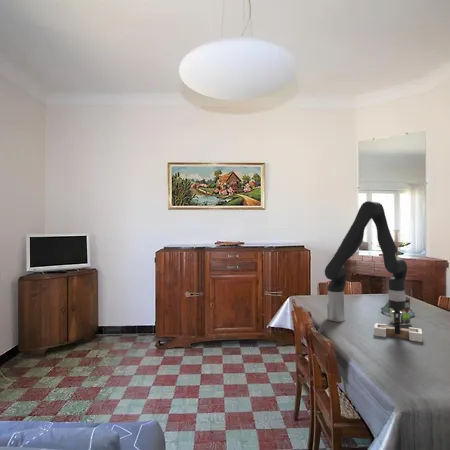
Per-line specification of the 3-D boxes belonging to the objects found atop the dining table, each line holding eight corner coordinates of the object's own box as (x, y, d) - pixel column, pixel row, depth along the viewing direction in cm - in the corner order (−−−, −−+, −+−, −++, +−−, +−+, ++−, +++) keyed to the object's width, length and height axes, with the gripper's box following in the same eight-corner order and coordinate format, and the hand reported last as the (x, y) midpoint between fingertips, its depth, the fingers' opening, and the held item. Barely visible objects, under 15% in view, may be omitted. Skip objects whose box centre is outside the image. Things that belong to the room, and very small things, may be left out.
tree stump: (381, 317, 192) (379, 287, 196) (381, 316, 209) (378, 288, 214) (416, 318, 184) (413, 287, 188) (413, 317, 202) (410, 289, 206)
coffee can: (415, 324, 177) (414, 298, 177) (399, 326, 174) (399, 300, 174) (400, 318, 187) (399, 294, 187) (385, 320, 184) (385, 296, 184)
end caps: (374, 335, 161) (374, 327, 161) (375, 330, 167) (375, 323, 167) (422, 342, 151) (422, 333, 150) (421, 336, 157) (421, 328, 157)
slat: (379, 335, 161) (379, 327, 161) (380, 333, 165) (379, 325, 165) (416, 340, 154) (416, 332, 154) (416, 337, 157) (415, 329, 157)
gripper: (388, 295, 167) (389, 325, 167) (387, 301, 155) (388, 334, 155) (405, 296, 163) (405, 327, 163) (405, 302, 151) (406, 336, 151)
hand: (397, 330), depth 159 cm, fingers open, 8 cm apart
